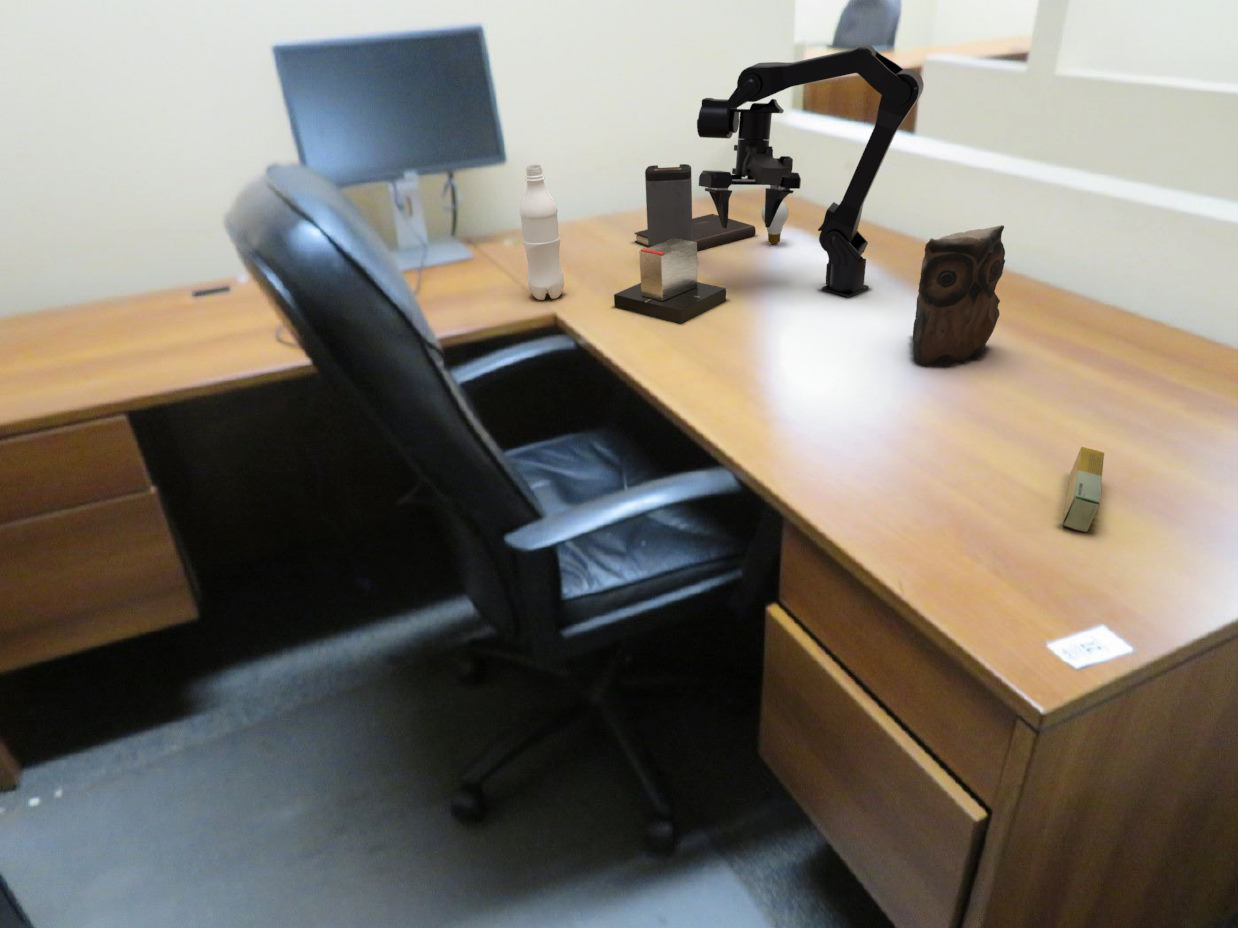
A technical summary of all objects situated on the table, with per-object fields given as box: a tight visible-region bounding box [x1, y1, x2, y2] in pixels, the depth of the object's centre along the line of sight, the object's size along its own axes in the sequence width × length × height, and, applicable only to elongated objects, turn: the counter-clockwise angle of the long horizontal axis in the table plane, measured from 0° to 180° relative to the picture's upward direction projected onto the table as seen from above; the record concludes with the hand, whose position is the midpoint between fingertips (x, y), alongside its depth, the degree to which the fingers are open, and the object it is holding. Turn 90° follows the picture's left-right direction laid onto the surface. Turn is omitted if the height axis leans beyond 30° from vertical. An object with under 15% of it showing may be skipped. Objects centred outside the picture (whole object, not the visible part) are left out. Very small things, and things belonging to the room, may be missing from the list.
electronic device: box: [644, 163, 693, 248], centre depth 179 cm, size 9×6×20 cm, turn 84°
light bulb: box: [760, 200, 790, 246], centre depth 188 cm, size 6×6×10 cm
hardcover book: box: [634, 213, 757, 252], centre depth 198 cm, size 16×23×2 cm
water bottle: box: [519, 164, 565, 301], centre depth 164 cm, size 7×7×25 cm
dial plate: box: [613, 282, 727, 325], centre depth 162 cm, size 16×14×3 cm
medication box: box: [1061, 446, 1105, 534], centre depth 97 cm, size 12×3×4 cm, turn 152°
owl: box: [912, 224, 1006, 368], centre depth 130 cm, size 13×13×20 cm
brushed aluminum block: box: [638, 238, 699, 301], centre depth 159 cm, size 10×5×9 cm, turn 136°
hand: (746, 227), depth 162 cm, fingers open, 9 cm apart
